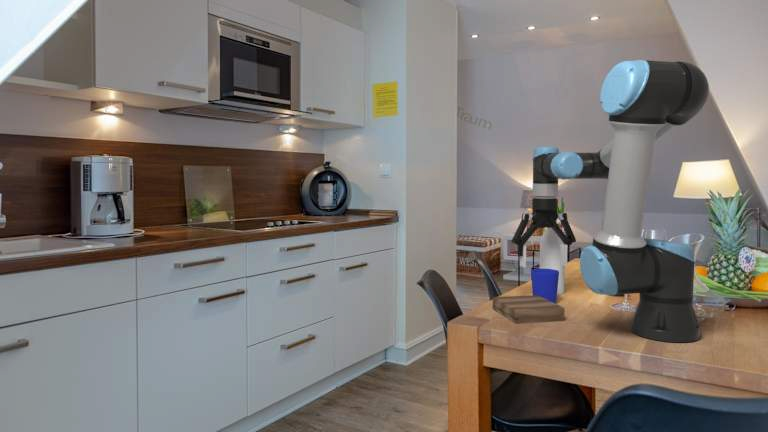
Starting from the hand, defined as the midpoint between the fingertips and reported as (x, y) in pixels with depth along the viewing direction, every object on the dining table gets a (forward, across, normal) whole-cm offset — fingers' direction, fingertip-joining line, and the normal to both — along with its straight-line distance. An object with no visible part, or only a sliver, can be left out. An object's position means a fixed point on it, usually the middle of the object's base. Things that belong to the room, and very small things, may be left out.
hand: (543, 265), depth 168 cm
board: (+11, +12, +15) cm, 22 cm away
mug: (+11, 0, +1) cm, 11 cm away
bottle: (+12, -9, -11) cm, 19 cm away
